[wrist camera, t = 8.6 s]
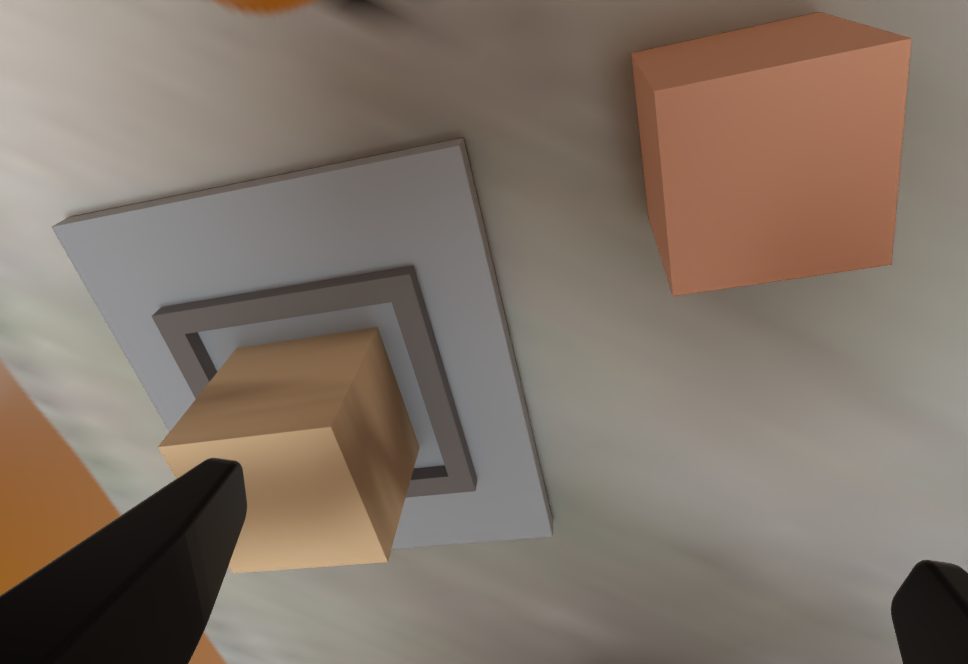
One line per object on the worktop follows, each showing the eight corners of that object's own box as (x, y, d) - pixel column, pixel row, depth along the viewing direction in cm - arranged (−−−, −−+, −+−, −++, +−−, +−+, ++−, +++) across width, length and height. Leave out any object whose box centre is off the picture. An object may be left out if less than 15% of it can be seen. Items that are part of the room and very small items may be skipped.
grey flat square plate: (552, 520, 26) (552, 549, 24) (250, 545, 28) (236, 572, 27) (463, 137, 18) (456, 151, 17) (68, 217, 21) (38, 234, 20)
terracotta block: (813, 188, 18) (891, 264, 14) (647, 216, 19) (673, 296, 15) (818, 12, 16) (911, 38, 12) (630, 52, 17) (654, 91, 13)
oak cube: (419, 447, 23) (387, 561, 19) (290, 461, 24) (232, 573, 20) (378, 326, 21) (331, 427, 17) (236, 347, 22) (157, 447, 18)
